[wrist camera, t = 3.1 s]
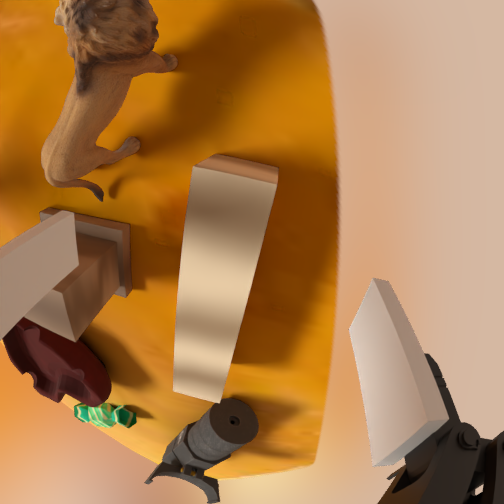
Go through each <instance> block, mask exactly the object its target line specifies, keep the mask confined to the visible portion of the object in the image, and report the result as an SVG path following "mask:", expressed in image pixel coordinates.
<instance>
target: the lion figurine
mask: <svg viewBox="0 0 504 504" xmlns="http://www.w3.org/2000/svg"><path fill="white" fill-rule="evenodd" d="M59 3H60V6H58V8H57V9H56V12H55V15H56V16H55V19H54V23H55V24H56V25H61V26H64V31H65V33H66V34H67V36H68V48H67V50H68V53H69V55H70V56H71V57H73V58H74V63H75V76H74V79H73V83H72V85H71V88H70V90H69V93H68V95H67V97H66V100H65V104H64V107H63V110H62V113H61V115H60V117H59V120H58V122H57V124H56V126H55V127H54V129H53V130H52V132H51V133H50V135H49V136H48V138H47V139H46V141H45V143H44V145H43V148H42V152H41V164H42V167H43V169H44V171H45V177H46V179H47V181H48V182H49V183H50V184H51V185H53V186H55V187H60V188H65V187H85V188H88V189H90V190H91V191H92V192H93V193H94V195H95V196H96V197H97V198H98V199H99V200H100V201H101V202H102V201H103V196H104V192H103V191H102V189H101V188H100V187H99V186H98V185H97V184H94V183H92V182H89V181H86V180H81V179H77V178H79V177H82V176H84V175H86V174H88V173H89V172H91V171H92V170H94V169H95V168H96V167H98V166H100V165H102V164H113V163H115V162H117V161H118V160H120V159H122V158H124V157H127V156H130V155H132V154H134V153H136V152H137V151H138V150H139V148H140V141H139V140H138V139H137V138H135V137H129V138H127V139H126V140H125V142H124V144H123V145H122V147H121V148H119V149H118V150H116V151H113V152H112V151H110V150H108V149H106V148H103V147H99V146H96V143H95V142H96V140H97V138H98V136H99V135H100V133H101V132H102V131H103V130H104V129H105V128H106V127H107V126H108V124H109V123H110V122H111V121H112V120H113V118H114V117H115V116H116V114H117V113H118V111H119V109H120V108H121V106H122V104H123V102H124V100H125V98H126V95H127V92H128V89H129V86H130V83H131V80H132V77H135V76H138V75H140V74H143V73H148V72H149V73H165V72H169V71H171V70H173V69H175V68H176V66H177V65H178V61H177V58H176V57H175V56H174V55H170V54H165V55H164V56H163V58H161V57H160V56H159V55H158V54H157V53H155V52H153V51H152V50H153V48H154V44H155V42H156V41H157V39H158V38H159V34H158V31H157V29H156V25H157V24H158V18H157V16H156V15H155V13H154V11H153V8H152V6H151V4H149V0H60V1H59Z"/></svg>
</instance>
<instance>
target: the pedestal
mask: <svg viewBox="0 0 504 504" xmlns="http://www.w3.org/2000/svg"><path fill="white" fill-rule="evenodd" d="M60 211H62V210H58V209H54V208H49V207H48V208H46V209H44V210H43V211H41V212H40V220H41V222H42V221H44V220H46V219H48V218H49V217H51V216H53V215H55V214H57V213H58V212H60ZM74 221H75V234H76V244H77V253H78V261H79V265H78V266H77V267H76V268H75V269H74V270H73V271H71V272H70V273H69V274H68V275H67V276H66V277H65V278H63V279H62V280H61V281H60V282H59V283H58V284H57V285H56V286H55V287H54V288H52V289H51V290H50V291H49V292H48V293H47V294H46V295H45V296H44V297H43V298H42V299H41V300H40V301H39V302H38V303H37V304H35V305H34V306H33V307H32V308H31V309H30V310H29V311H28V312H27V313H26V314H25V315H24V316H23V317H25V318H27V319H29V320H31V321H33V322H35V323H37V324H38V325H40V326H42V327H44V328H46V329H48V330H50V331H52V332H54V333H57V334H59V335H61V336H63V337H65V338H67V339H69V340H72V341H74V342H76V341H77V340H78V339H79V337H80V336H81V335H82V333H83V332H84V331H85V329H86V328H87V327H88V325H89V324H90V323H91V322H92V320H93V319H94V318H95V317H96V315H97V314H98V313H99V311H100V310H101V309H102V308H103V306H104V305H105V304H106V303H107V301H108V300H109V299H110V298H111V297H112V295H113V294H115V295H119V296H122V297H125V298H126V297H127V296H128V295H129V293H130V292H131V291H132V279H131V257H130V225H129V224H125V223H120V222H115V221H111V220H106V219H101V218H96V217H92V216H87V215H82V214H77V213H74Z"/></svg>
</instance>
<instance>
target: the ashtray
mask: <svg viewBox="0 0 504 504" xmlns="http://www.w3.org/2000/svg"><path fill="white" fill-rule="evenodd" d="M2 339H3V342H4V345H5V348H6V350H7V353H8V356H9V358H10V360H11V362H12V363H13V364H14V366H15V367H16V368H17V369H18V370H19V371H20V372H21V374H24V373H25V372H27V373H29V374H31V376H32V377H33V379H34V386H33V387H34V388H35V389H36V390H37V391H38V392H39V393H40V394H41V395H43V396H45V397H47V398H50V399H51V400H53V401H55V402H57V403H59V402H60V401H61V400H62V398H63V397H64V395H65V394H67V395H69V396H71V397H73V398H75V399H77V400H78V401H80V402H82V403H84V404H85V405H87V406H90V407H97V406H99V405H100V404H102V403H104V402H105V401H106V400H107V399H108V397H109V395H110V393H111V387H112V384H111V381H110V378H109V376H108V374H107V371H106V369H105V365H104V364H103V362H102V361H101V360H100V359H98V358H97V357H96V356H95V355H94V354H93V353H92V351H91V350H90V349H89V348H88V347H87V346H86V345H85V344H84V343H83V342H81V341H80V340H79V339H78V340H77V341H76V342H74V341H72V340H69V339H67V338H65V337H63V336H61V335H59V334H57V333H54V332H52V331H50V330H48V329H46V328H44V327H42V326H40V325H38V324H37V323H35V322H33V321H31V320H29V319H27V318H25V317H22V318H21V319H20V320H19V321H18V322H17V323H16V325H15V326H14V327H13V328H12V329H11V330H10V331H9V332H8V333H7V334H6V335H5V336H4V337H3V338H2Z"/></svg>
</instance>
